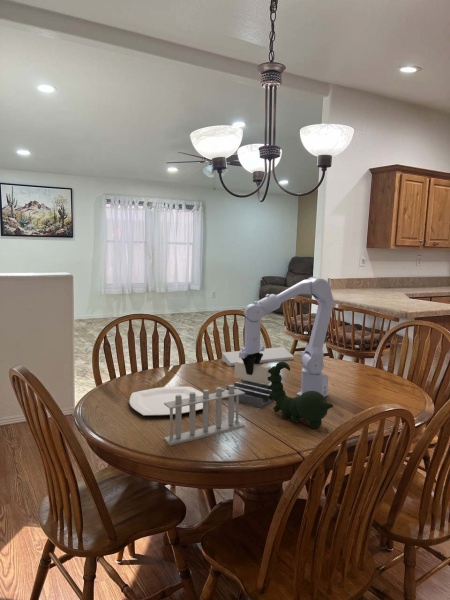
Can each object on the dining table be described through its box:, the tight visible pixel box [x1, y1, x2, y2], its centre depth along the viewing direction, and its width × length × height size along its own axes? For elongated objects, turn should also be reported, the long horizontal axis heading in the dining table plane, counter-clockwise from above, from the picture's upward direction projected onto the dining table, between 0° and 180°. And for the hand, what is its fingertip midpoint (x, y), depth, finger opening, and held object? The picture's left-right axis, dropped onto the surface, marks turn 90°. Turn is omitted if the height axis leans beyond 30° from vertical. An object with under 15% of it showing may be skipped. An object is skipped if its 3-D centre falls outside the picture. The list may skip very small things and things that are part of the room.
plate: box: [128, 386, 203, 417], centre depth 150 cm, size 27×27×2 cm
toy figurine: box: [268, 361, 334, 429], centre depth 135 cm, size 9×19×25 cm
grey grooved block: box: [222, 379, 274, 409], centre depth 158 cm, size 18×16×3 cm
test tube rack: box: [163, 384, 246, 446], centre depth 126 cm, size 25×4×13 cm, turn 122°
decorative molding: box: [221, 346, 295, 367], centre depth 209 cm, size 34×5×10 cm
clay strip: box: [234, 360, 272, 385], centre depth 157 cm, size 14×2×6 cm, turn 55°
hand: (251, 373), depth 157 cm, fingers closed on clay strip, 2 cm apart
